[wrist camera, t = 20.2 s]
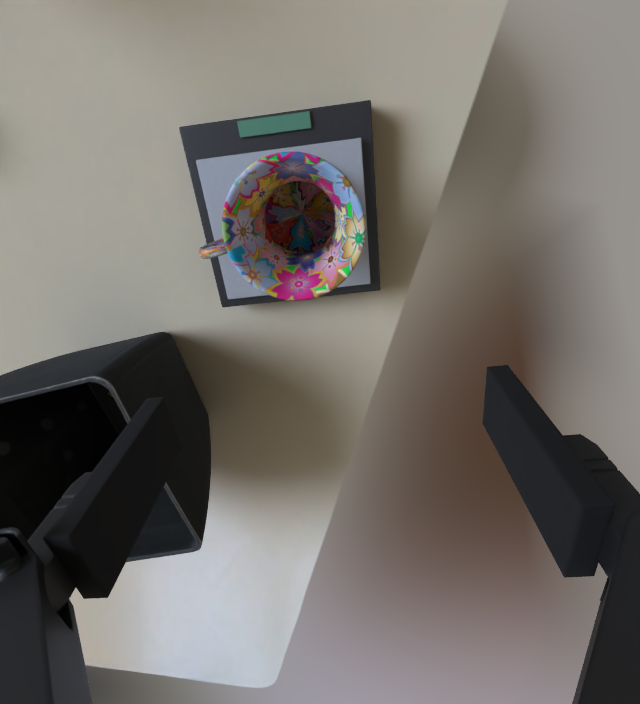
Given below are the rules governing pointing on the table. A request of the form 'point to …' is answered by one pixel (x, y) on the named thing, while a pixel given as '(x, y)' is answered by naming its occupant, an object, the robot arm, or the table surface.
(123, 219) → the table surface
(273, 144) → the scale
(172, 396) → the flower pot
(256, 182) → the mug
